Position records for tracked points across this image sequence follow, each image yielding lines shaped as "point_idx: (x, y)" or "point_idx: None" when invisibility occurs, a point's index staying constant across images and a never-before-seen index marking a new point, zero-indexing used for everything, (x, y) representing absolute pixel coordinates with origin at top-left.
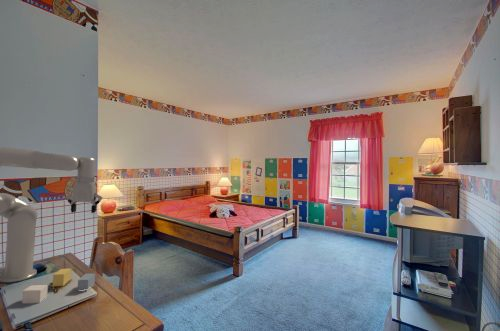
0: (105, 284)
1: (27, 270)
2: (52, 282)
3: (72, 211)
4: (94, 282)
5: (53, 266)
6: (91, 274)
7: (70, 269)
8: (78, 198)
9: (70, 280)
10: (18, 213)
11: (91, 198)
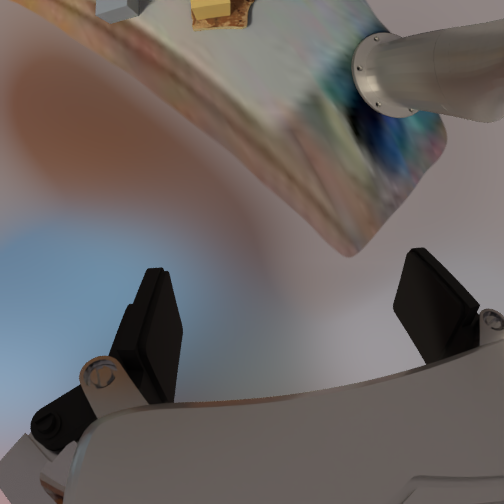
0: (80, 32)
1: (373, 57)
2: (246, 3)
3: (416, 255)
4: (107, 21)
5: (339, 147)
6: (104, 6)
7: (191, 5)
8: (482, 425)
9: (194, 18)
10: None
11: (70, 489)
